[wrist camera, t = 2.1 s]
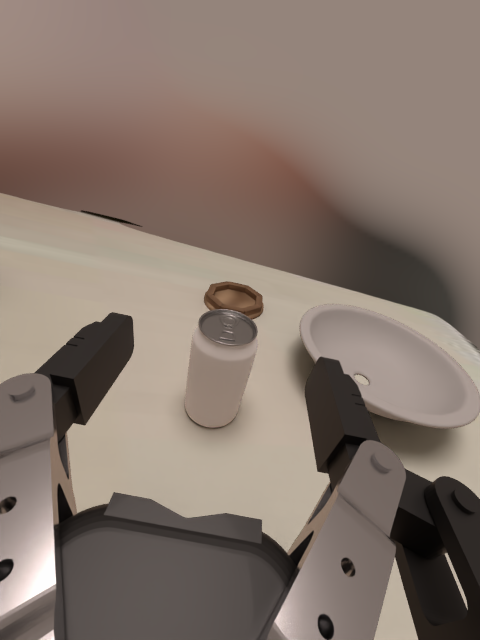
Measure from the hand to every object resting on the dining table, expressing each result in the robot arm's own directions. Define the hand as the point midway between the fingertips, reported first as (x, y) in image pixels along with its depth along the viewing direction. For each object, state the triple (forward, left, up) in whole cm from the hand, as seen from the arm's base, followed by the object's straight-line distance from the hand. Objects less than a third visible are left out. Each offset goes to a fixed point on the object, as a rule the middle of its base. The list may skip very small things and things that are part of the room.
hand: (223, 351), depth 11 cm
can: (0, +11, -19) cm, 22 cm away
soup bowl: (+22, +21, -19) cm, 36 cm away
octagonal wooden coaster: (0, +36, -18) cm, 41 cm away
